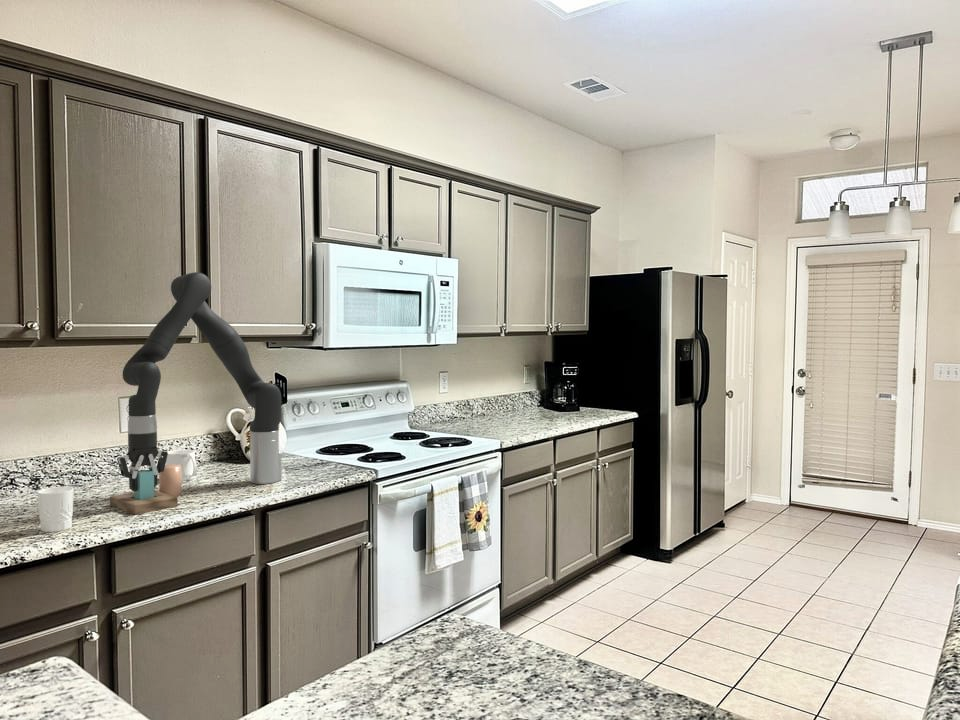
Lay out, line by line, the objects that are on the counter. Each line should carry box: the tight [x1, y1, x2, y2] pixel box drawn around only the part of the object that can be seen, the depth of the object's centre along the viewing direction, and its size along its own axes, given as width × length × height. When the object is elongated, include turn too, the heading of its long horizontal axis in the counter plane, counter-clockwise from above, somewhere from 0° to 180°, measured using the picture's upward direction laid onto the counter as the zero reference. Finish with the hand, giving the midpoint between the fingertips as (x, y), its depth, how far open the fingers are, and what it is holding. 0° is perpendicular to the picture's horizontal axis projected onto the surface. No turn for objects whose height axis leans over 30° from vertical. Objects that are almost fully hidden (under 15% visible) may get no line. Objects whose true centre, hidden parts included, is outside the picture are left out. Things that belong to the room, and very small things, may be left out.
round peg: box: [158, 464, 183, 497], centre depth 212 cm, size 6×6×9 cm
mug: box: [165, 449, 198, 482], centre depth 235 cm, size 12×9×9 cm
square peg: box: [133, 469, 155, 500], centre depth 200 cm, size 4×4×10 cm
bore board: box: [109, 489, 179, 516], centre depth 200 cm, size 12×16×2 cm
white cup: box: [36, 486, 74, 533], centre depth 176 cm, size 8×8×10 cm
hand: (143, 489), depth 200 cm, fingers open, 4 cm apart
